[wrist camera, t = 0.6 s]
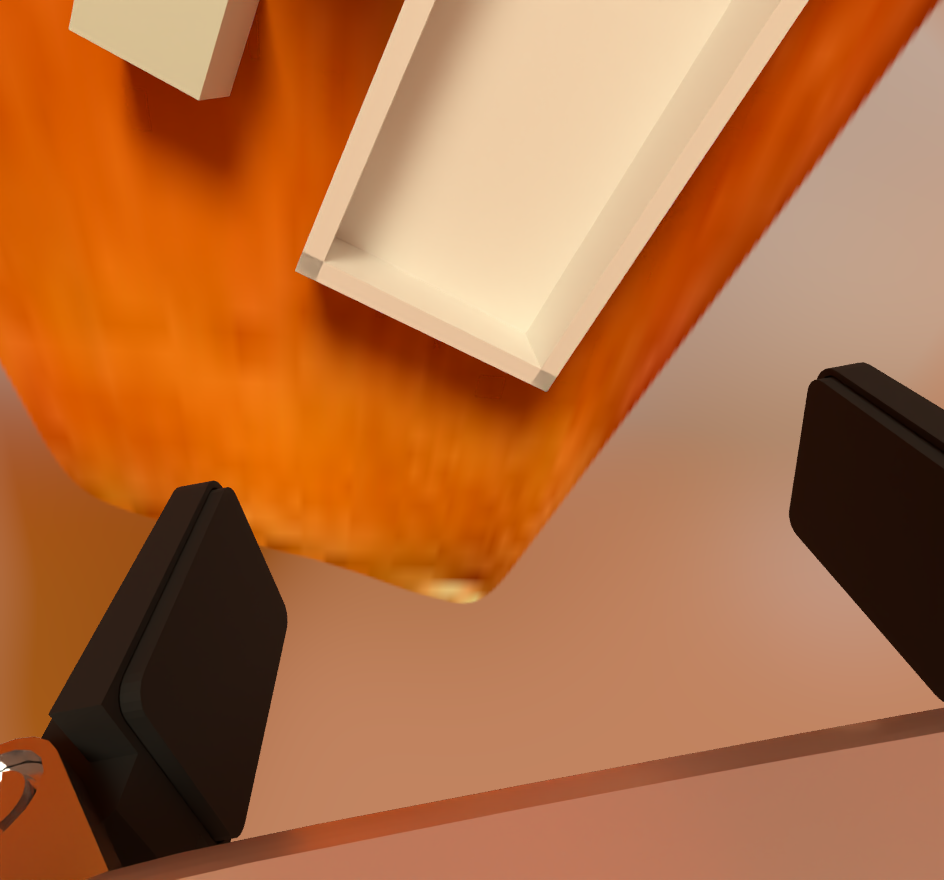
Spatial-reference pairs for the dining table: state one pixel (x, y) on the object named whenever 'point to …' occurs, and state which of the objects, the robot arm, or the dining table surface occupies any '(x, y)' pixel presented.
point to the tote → (528, 161)
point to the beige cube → (172, 38)
